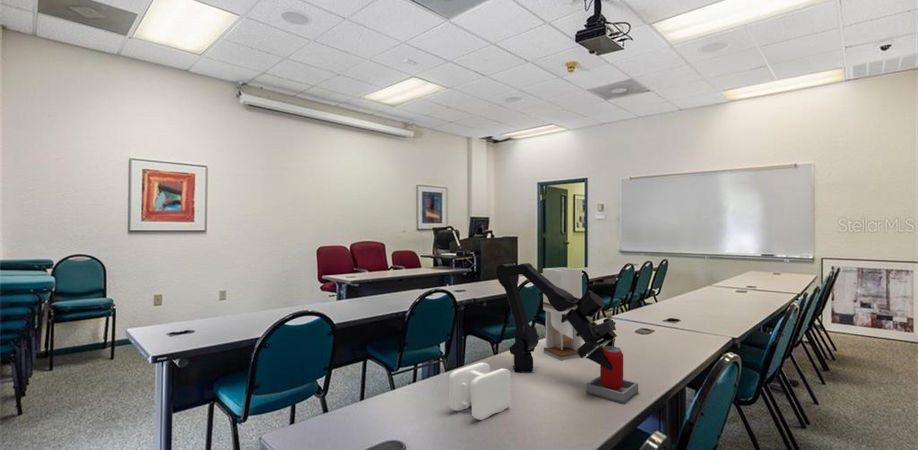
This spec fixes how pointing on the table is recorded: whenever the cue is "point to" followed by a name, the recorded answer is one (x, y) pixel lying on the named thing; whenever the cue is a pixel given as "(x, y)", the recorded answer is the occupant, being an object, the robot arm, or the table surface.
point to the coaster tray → (612, 391)
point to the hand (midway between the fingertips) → (616, 366)
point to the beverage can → (614, 376)
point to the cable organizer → (479, 390)
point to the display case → (560, 334)
